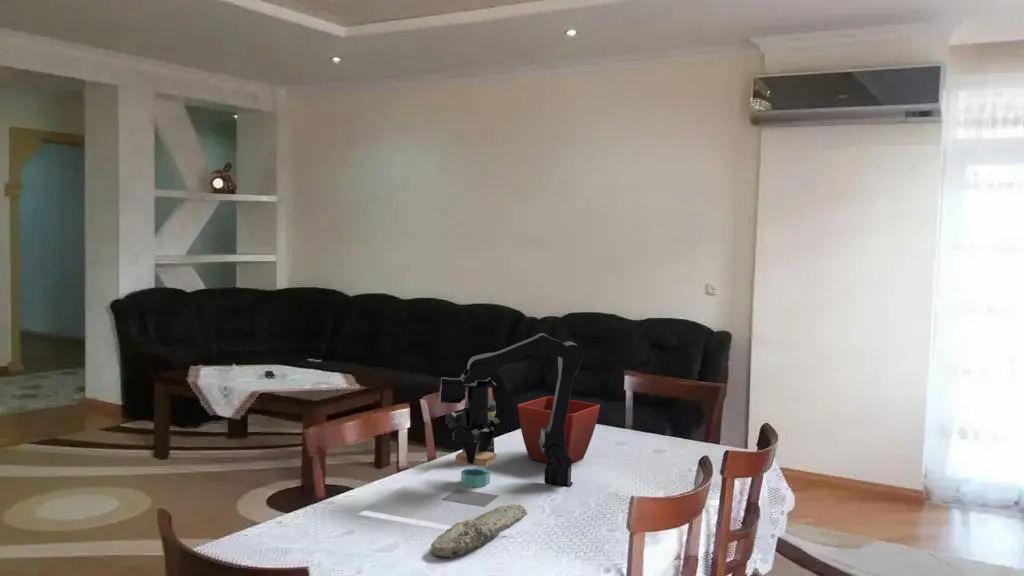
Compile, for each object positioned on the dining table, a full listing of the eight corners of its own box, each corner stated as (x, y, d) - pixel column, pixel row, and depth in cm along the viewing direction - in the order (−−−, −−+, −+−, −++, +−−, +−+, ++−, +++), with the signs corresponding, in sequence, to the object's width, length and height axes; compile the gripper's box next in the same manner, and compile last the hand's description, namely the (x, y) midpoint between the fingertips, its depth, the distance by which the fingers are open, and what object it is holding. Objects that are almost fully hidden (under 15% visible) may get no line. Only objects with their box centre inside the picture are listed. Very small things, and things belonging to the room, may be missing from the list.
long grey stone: (537, 524, 207) (502, 518, 212) (537, 502, 207) (502, 497, 212) (458, 563, 177) (419, 555, 182) (458, 538, 177) (419, 531, 182)
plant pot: (599, 457, 264) (601, 404, 263) (569, 471, 248) (571, 414, 247) (545, 447, 274) (547, 395, 273) (514, 460, 258) (516, 405, 257)
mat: (499, 499, 220) (499, 495, 220) (484, 510, 211) (484, 506, 211) (457, 492, 225) (457, 488, 225) (440, 503, 216) (440, 499, 215)
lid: (496, 460, 232) (496, 453, 232) (486, 466, 225) (486, 459, 225) (466, 456, 235) (466, 449, 235) (455, 462, 229) (455, 455, 228)
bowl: (492, 484, 233) (493, 470, 232) (482, 492, 226) (482, 477, 226) (468, 481, 235) (469, 466, 235) (457, 488, 229) (457, 473, 228)
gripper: (465, 394, 241) (463, 448, 242) (435, 406, 223) (433, 465, 224) (501, 398, 236) (500, 453, 238) (474, 411, 219) (472, 470, 220)
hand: (476, 460), depth 230 cm, fingers closed on lid, 7 cm apart
